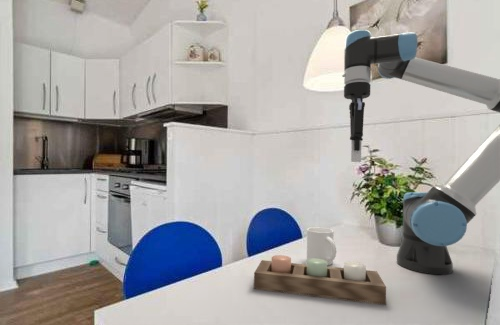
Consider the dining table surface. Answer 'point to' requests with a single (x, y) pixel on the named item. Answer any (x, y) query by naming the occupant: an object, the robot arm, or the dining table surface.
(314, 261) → the pale green rounded piece
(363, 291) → the wooden compartment tray
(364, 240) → the dining table surface
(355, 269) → the white short cylinder
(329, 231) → the mug
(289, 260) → the peach rounded piece
